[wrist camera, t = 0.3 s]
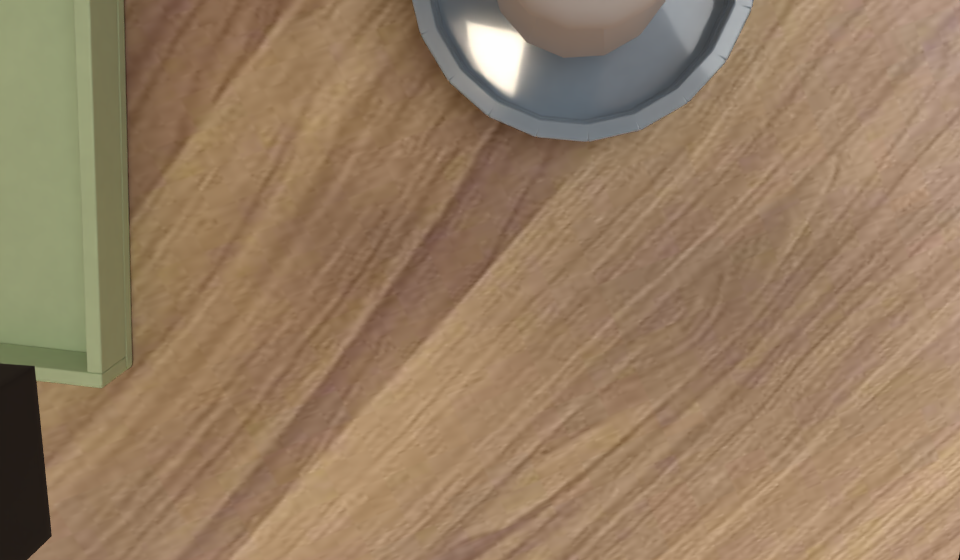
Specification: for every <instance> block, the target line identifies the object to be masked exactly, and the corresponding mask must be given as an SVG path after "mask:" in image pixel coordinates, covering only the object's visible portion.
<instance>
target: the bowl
mask: <svg viewBox="0 0 960 560" xmlns="http://www.w3.org/2000/svg"><path fill="white" fill-rule="evenodd" d="M753 1H754V0H666V1H665V2H664V4H663V5H662V6H661V8H660V9H659V10H658V12H657V13H656V14H655V16H654V17H653V18H652V20H651V21H650V22H649V24H648V25H647V26H646V28H645V29H644V30H643V32H642V33H641V35H639V36H637V37H636V38H634V39H632V40H630V41H629V42H627V43H625V44H623V45H622V46H620V47H618V48H616V49H615V50H613V51H611V52H609V53H608V54H606V55H603V56H586V57H569V58H563V57H561V56H558V55H556V54H553V53H551V52H549V51H546V50H544V49H541V48H539V47H537V46H534V45H532V44H530V43H527V42H526V41H525V40H524V38H523V37H522V36H521V35H520V34H519V33H518V31H517V30H516V29H515V28H514V27H513V26H512V24H511V23H510V22H509V21H508V20H507V19H506V18H505V16H504V15H503V14H502V13H501V12H500V9H499V5H498V1H497V0H412V3H413V7H414V11H415V15H416V19H417V24H418V28H419V32H420V34H421V37H422V38H423V40H424V42H425V44H426V45H427V47H428V49H429V50H430V52H431V54H432V55H433V57H434V59H435V60H436V62H437V64H438V65H439V67H440V69H441V70H442V72H443V74H444V75H445V77H446V79H447V80H449V82H450V84H452V85H453V86H454V87H455V88H456V89H457V90H458V91H460V92H461V93H462V94H463V95H464V96H465V97H466V98H467V99H469V100H470V101H471V102H472V103H473V104H474V105H475V106H476V107H478V108H479V109H480V110H481V111H482V112H483V113H484V114H485V115H487V116H489V117H490V118H492V119H495V120H497V121H499V122H501V123H504V124H506V125H508V126H511V127H513V128H515V129H518V130H520V131H522V132H524V133H527V134H529V135H531V136H534V137H538V138H548V139H559V140H570V141H580V142H587V141H589V142H591V141H596V140H600V139H605V138H609V137H614V136H618V135H623V134H627V133H632V132H636V131H639V130H642V129H644V128H646V127H647V126H649V125H651V124H653V123H654V122H656V121H658V120H659V119H661V118H663V117H665V116H666V115H668V114H670V113H671V112H673V111H675V110H677V109H678V108H680V107H682V106H684V105H685V104H687V102H689V101H690V100H691V99H692V98H693V97H694V96H695V95H696V94H697V93H698V92H699V90H700V89H701V88H702V87H703V86H704V85H705V84H706V83H707V82H708V81H709V80H710V79H711V78H712V76H713V75H714V74H715V73H716V72H717V71H718V70H719V69H720V68H721V67H722V66H723V65H724V63H725V62H726V60H727V59H728V57H729V55H730V53H731V51H732V49H733V47H734V45H735V43H736V41H737V39H738V37H739V35H740V33H741V31H742V28H743V26H744V24H745V22H746V20H747V18H748V16H749V14H750V12H751V8H752V7H753Z"/></svg>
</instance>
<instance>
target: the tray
mask: <svg viewBox="0 0 960 560" xmlns="http://www.w3.org/2000/svg"><path fill="white" fill-rule="evenodd" d="M0 363H2V364H16V365H29V366H35V374H36V381H43V382H52V383H60V384H69V385H78V386H86V387H95V388H103V387H104V386H106V385H107V384H108V383H110V382H111V381H112V380H114V379H115V378H116V377H118V376H119V375H120V374H122V373H123V372H124V371H126V370H127V369H129V368H130V367H131V366H132V336H131V293H130V250H129V206H128V163H127V120H126V76H125V33H124V0H0Z"/></svg>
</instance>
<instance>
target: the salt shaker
mask: <svg viewBox="0 0 960 560" xmlns="http://www.w3.org/2000/svg"><path fill="white" fill-rule="evenodd" d="M497 1H498V5H499V9H500V12H501V13H502V14H503V15H504V16H505V18H506V19H507V20H508V21H509V22H510V23H511V24H512V26H513V27H514V28H515V29H516V30H517V31H518V33H519V34H520V35H521V36H522V37H523V38H524V40H525V41H526V42H527V43H530V44H532V45H534V46H537V47H539V48H541V49H544V50H546V51H549V52H551V53H553V54H556V55H558V56H561V57H563V58H569V57H586V56H603V55H606V54H608V53H609V52H611V51H613V50H615V49H616V48H618V47H620V46H622V45H623V44H625V43H627V42H629V41H630V40H632V39H634V38H636V37H637V36H639V35H641V33H642V32H643V30H644V29H645V28H646V26H647V25H648V24H649V22H650V21H651V20H652V18H653V17H654V16H655V14H656V13H657V12H658V10H659V9H660V8H661V6H662V5H663V4H664V2H665V1H666V0H497Z"/></svg>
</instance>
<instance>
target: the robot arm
mask: <svg viewBox="0 0 960 560" xmlns="http://www.w3.org/2000/svg"><path fill="white" fill-rule="evenodd" d="M51 536H52V535H51V525H50V515H49V505H48V495H47V485H46V474H45V464H44V454H43V444H42V434H41V424H40V414H39V404H38V394H37V384H36V374H35V366H29V365H16V364H2V363H0V560H27V559H28V558H29V557H30V556H31V555H32V554H34V553H35V552H36V551H37V550H38V549H39V548H40V547H41V546H42V545H43V544H44V543H45V542H46V541H47V540H48V539H49V538H50V537H51ZM958 560H960V554H959V559H958Z"/></svg>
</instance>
